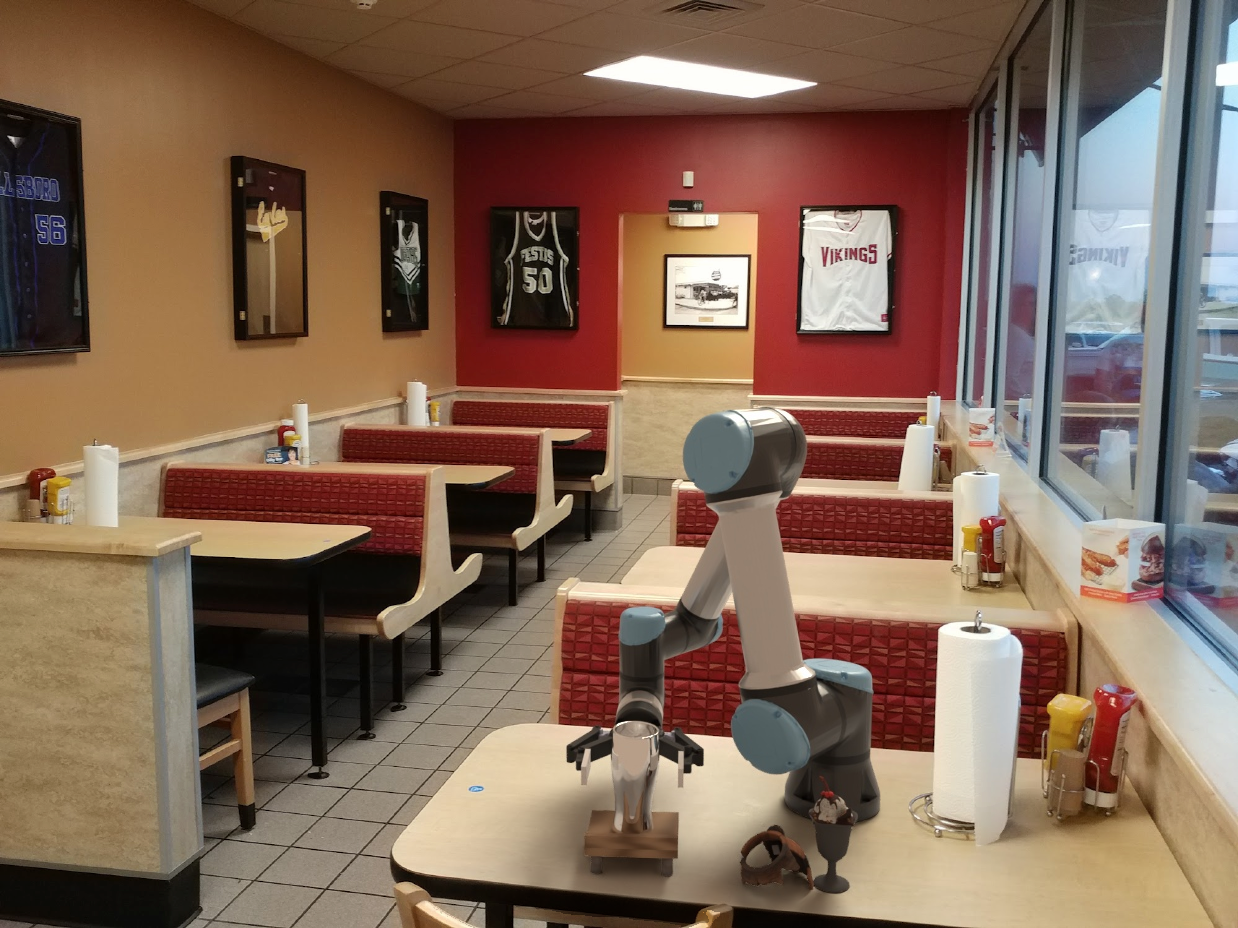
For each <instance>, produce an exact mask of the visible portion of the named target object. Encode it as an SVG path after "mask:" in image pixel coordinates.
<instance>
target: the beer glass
mask: <svg viewBox="0 0 1238 928" xmlns="http://www.w3.org/2000/svg"><path fill="white" fill-rule="evenodd" d="M614 725H615V724H614ZM612 728H613V737H612V746H611V754H610V772H611V777H612V779H611V780H612V786H613V792H614V802H615V803H614V805H615V806H614V811H615V813H614V817H613V822H612V830H613V831H614V832H615V833H628V834H651V833H652V832H653V830H654V824H653V818H652V812H653V810H652V809H653V807H652V805H653V798H654V793H655V789H656V784H657V781H658V774H659V769H660V768H659V767H660V759H661V758H660V757H661V755H660V749H659V729H658V728H657V727H656V726H655V725H653V724H651V723H647V722H642V721H626V722H622V723H619V724H617V725H615V726H613V727H612Z"/></svg>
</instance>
